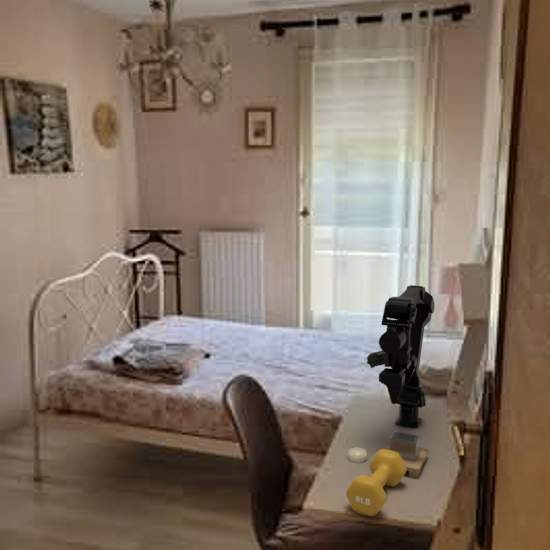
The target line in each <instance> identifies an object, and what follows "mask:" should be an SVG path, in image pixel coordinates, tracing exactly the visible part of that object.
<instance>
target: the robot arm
mask: <svg viewBox="0 0 550 550" xmlns="http://www.w3.org/2000/svg"><path fill="white" fill-rule="evenodd" d="M434 312H435V300H434V297H433V295H432V294H430V293H429V292H428V291H427V290H426V287H425V286H423V285H413V284H412V285H411V284H410V285H407V286H406V289H405V290H404V291H403V292H402V294H400V295H398V296H391V297H388V300H387V301H385V303H384V309H383V314H382V320H381V326H386V331H384V332H383V333H382V335H381V336H380V337H379V339H378V345H379V348H380V349H381V350H378V351H374V352H371V353H369V354H368V355H367V356H366V360H367V361H366V363H367V365H369V366H370V368H371V369H373V368H375V367H378V366H383V365H384V368H383V370H382V371H381V372H380V373H379V374H378V382H380V383H381V384H382V385H384V386H386V389H387V392H388V395H389V399H390V403H391V404H393V405H399V409H398V410H399V413H398V414H399V416H398V419H396V421H395V425H396V426H403V427H409V428H413V429H417V428H419V426H420V424H421V422H422V420H423V419H422V418H420V416H419V415H420V409H421V408H423V407H426V406H427V403H426V402H427V399H426V394H425V390H424V387H423V381H422V380H421V377H420V375H419V371H420V364H421V363H420V362H421V356H422V349H423V348H422V347H423V341H424V334H425V327H426V326H427V325H428V323H430V321H431V320H432V315H433V314H434Z"/></svg>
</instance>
